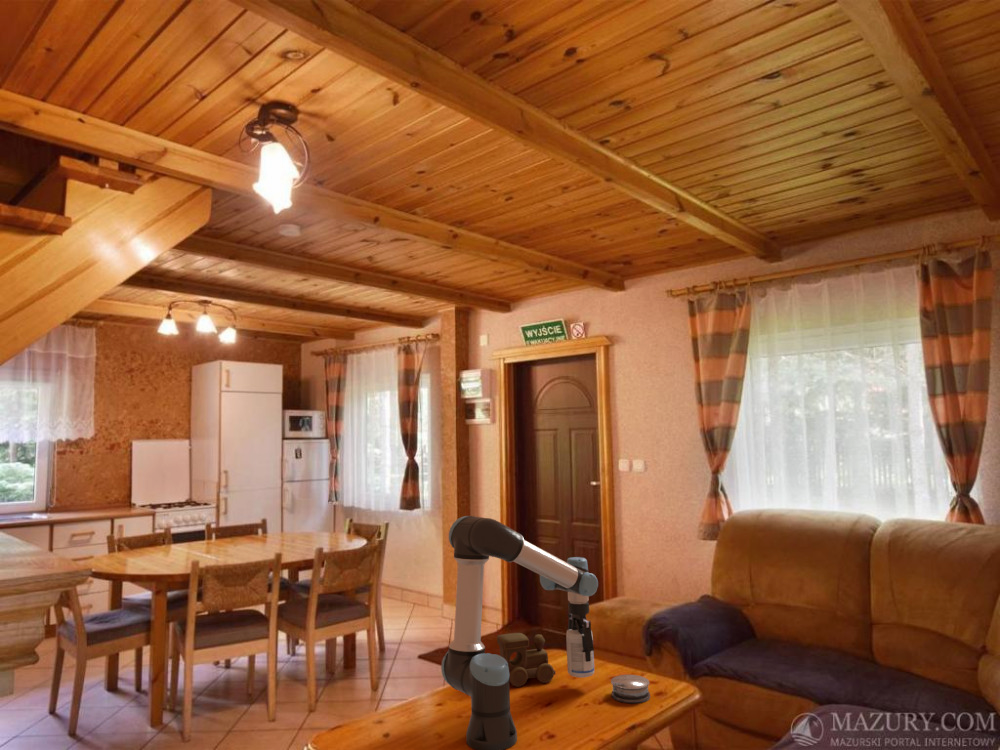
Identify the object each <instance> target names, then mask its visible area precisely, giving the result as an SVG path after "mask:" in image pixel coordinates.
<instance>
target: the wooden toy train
mask: <svg viewBox="0 0 1000 750" xmlns="http://www.w3.org/2000/svg"><path fill="white" fill-rule="evenodd" d="M496 642H497V644H498V646H499V656H501V657H503V658H504V659H505V660H506V661H507V663H508V668H509V673H510V676H509V683H510V684H511V685H512V687H516V688H520V687H522V686H524V685H525V684H526V683H527V680H528V679H533V678H536V680H537V681H538V682H539V683H542V684H546V683H550V682H551V681H552V680H553V678H554V676H555V675H556V674H557V673H556V670H555V669H554V667H553V665H551V663H549V655H548V652H547V650H546V649H544V645H545V642H546V640H545V638H544V636H543V635H542V634H535V636H534V637H533V639H532V642H533V644H534V646H535V649H534V648H533V649H527V648H529V647H530V639H529V638H528V636H526V634H525V633H522V632H512V633H504V634H503V633H502V634H497V635H496ZM514 653H515V654H516V655H515V657H514V658H513V659H511V657H512V655H513V654H514Z"/></svg>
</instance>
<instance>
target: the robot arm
mask: <svg viewBox="0 0 1000 750" xmlns="http://www.w3.org/2000/svg"><path fill="white" fill-rule="evenodd" d="M450 526H451V527H450V528H449V531H448V542H449V544H450V545H451V547H452V548H453V559H454V560H455V561H456V563H457V576H456V592H455V593H456V595H455V616H454V630H453V631H454V633H453V635H454V636H453V641H452V642H450V643H449V644H448V651H447V652H446V653H445V655H444V656H443V657H442V660H441V665H440V666H441V667H440V669H441V674H442V677H443V680H444V681H445V682H446V683H447V684H448V685H449V686H451V687H452V688H453V689H454V690H456V691H459V692H461V693H464V694H465V695H467V696H469V697H470V702H471V703H470V705H471V715H470V718H469V721H468V725H467V726H468V727H467V730H466V735H465V736H466V741H465V742H466V745H467V746H469V748H471V749H473V750H505V749H509V748H512V746H514V745H515V744H517V741H518V734H517V733H518V732H517V728H516V726H515V723H514V720H513V717H512V714H511V697H510V696H511V695H510V694H511V693H510V691H511V690H510V681H509V676H510V673H509V668H508V663H507V661H506V660H505V659H504V658H503V657H501V656H500V654H497V653H496V654H495V653H494V654H492V653H490V652H487V653H486V646H485V645H484V643H483V642H482V639H481V638H482V615H483V599H484V598H483V597H484V596H483V595H484V573H485V564H486V563H487V562H488V561H489V560H490V557H491V558H497V559H500V560H503V561H505V562H507V563H512V562H514V563H516V564H518V565H520V566H522V567H524V568H526V569H528V570H530V571H532V572H533V573H535V574H537V575H539V583H540V585H541V588H543V589H544V590H546V591H554V590H560V591H563V592H567V601H568V603H567V604H568V605H567V606H568V610H567V611H568V614H567V619H568V620H567V621H568V622H567V630H570V629H572V630H578V632H579V633H580V634H584V636H582V644H583V649H584V650H583V651H582V652H583V671H590V670H591V651H595V648H594V639H593V640H592V635H593V632H592V633H591V631H592V624H591V623H592V622H591V620H588V619H587V614H589V613H590V603H589V597H591V596H594V595H595V593H597V590H598V587H599V581H598V578H597V577H596V575H595V574H594V573H592V572H591V573H590V572H589V566H588V560H587V559H586V558H585V557H581V556H575V557H574V556H572V557H568V558H567V560H566V561H565V560H562V558H561V559H560V558H559V557H558V556H555V555H554V554H552V553H550V552H548V551H546V550H544V549H542V548H540V547H539V546H536V545H535V544H533V543H531V542H529V541H527V540H526V539H524V536H523V535H522V534H521V533H520V532H518V531H516V530H514V529H513V528H511V527H509V526H507V525H506V524H503V523H502V522H500V521H498V520H497V519H493V518H489V517H480V516H475V515H474V516H473V515H466V516H465V515H464V516H462V517H459V518H458V519H456V520H455V521H453V523H452V525H450Z"/></svg>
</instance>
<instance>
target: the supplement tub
mask: <svg viewBox="0 0 1000 750" xmlns="http://www.w3.org/2000/svg"><path fill="white" fill-rule="evenodd" d="M591 633H592V640H593V641H594V638H593V636H594V635H593V630H591ZM565 635H566V639H565V640H566V642H565V643H566V659H567V660H566V661H567V663H566V664H567V673H568V675H570V676H571V677H573V678H589V677H591V676H593V675H594V674H595V656H594V654H595V652H594V651H595V650H594V651H591V670H590V671H583V652H582V651H583V650H584V649H583V644H582V636H584V634H580V633H579V632H578V630H572V629H570V630H568V629H567V630H566V634H565Z"/></svg>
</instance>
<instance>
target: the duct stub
mask: <svg viewBox="0 0 1000 750" xmlns="http://www.w3.org/2000/svg"><path fill="white" fill-rule="evenodd" d="M610 684H611V685H612V691H611V698H612V699H613V700H614V701H616V702H620V703H623V704H631V705H632V704H633V705H634V704H635V705H636V704H637V705H638V704H642V703H645V702H648V701H650V699H651V693H650V691H649V685H650V681H649V679H648V678H647V677H644V676H642V675H637V674H619V675H617V676H613V677H612V678H611V680H610Z"/></svg>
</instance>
